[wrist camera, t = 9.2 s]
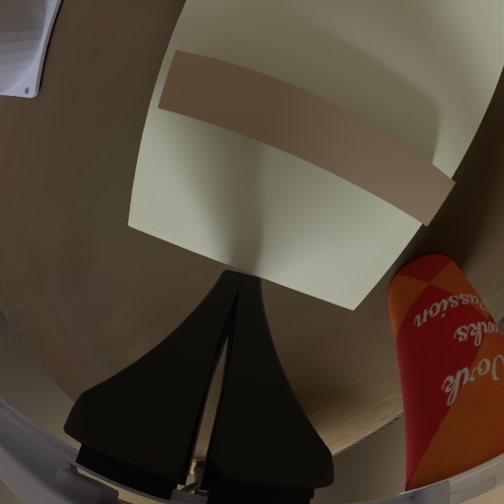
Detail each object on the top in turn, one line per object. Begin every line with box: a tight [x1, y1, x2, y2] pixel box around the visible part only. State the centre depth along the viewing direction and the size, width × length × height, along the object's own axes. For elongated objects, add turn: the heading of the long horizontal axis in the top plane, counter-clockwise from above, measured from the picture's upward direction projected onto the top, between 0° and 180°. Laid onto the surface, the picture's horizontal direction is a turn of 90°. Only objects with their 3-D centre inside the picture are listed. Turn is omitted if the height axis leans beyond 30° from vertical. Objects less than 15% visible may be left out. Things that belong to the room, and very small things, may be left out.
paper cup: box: [388, 253, 504, 504], centre depth 10 cm, size 8×8×14 cm
